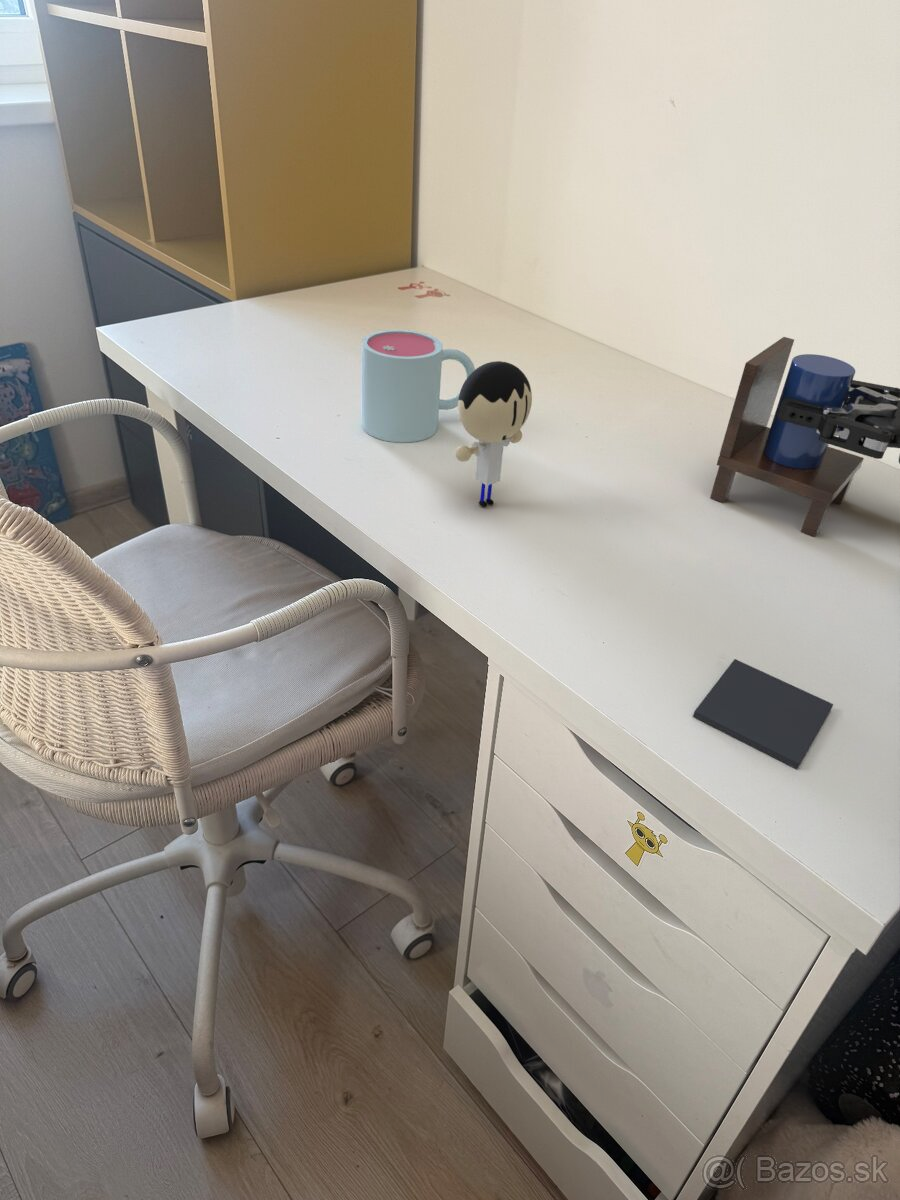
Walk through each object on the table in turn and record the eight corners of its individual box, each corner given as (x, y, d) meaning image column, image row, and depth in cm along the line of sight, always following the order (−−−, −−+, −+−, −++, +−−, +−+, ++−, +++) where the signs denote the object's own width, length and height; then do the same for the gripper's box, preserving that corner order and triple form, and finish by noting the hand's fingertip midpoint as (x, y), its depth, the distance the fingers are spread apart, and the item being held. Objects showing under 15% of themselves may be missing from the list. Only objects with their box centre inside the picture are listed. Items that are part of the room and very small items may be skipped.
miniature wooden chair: (847, 499, 92) (900, 367, 83) (816, 539, 85) (871, 398, 76) (744, 464, 97) (783, 336, 88) (706, 498, 90) (745, 362, 81)
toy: (475, 530, 82) (489, 384, 73) (432, 502, 85) (440, 361, 76) (535, 504, 86) (555, 365, 77) (492, 479, 90) (506, 344, 81)
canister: (829, 456, 88) (863, 365, 83) (811, 475, 85) (845, 381, 79) (774, 438, 91) (803, 349, 85) (754, 456, 87) (783, 364, 81)
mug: (369, 444, 95) (370, 360, 89) (355, 411, 102) (355, 330, 96) (483, 437, 98) (491, 355, 93) (461, 405, 106) (467, 327, 100)
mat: (830, 709, 64) (833, 704, 64) (797, 769, 59) (799, 763, 58) (732, 664, 68) (734, 658, 67) (692, 716, 62) (694, 710, 62)
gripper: (982, 379, 82) (808, 341, 88) (981, 430, 72) (784, 384, 78) (950, 448, 87) (787, 408, 93) (944, 505, 76) (761, 456, 82)
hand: (786, 397), depth 85 cm, fingers closed on canister, 6 cm apart
